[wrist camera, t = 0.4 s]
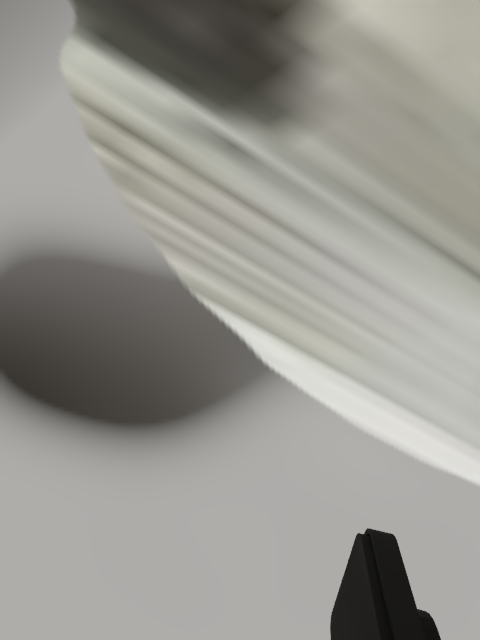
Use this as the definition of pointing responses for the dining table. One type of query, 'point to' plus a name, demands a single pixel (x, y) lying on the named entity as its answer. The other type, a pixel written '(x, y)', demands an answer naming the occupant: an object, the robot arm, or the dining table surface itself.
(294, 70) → the dining table surface
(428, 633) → the robot arm
